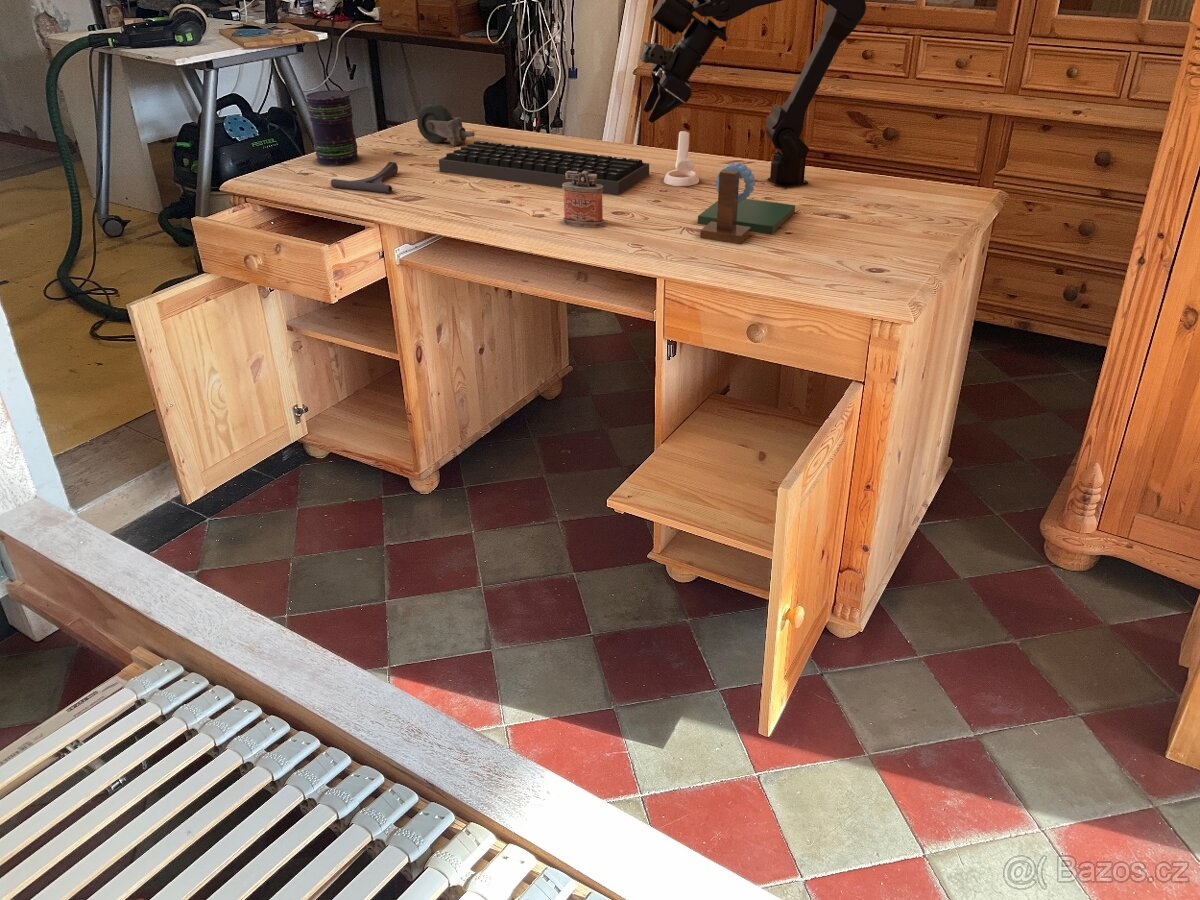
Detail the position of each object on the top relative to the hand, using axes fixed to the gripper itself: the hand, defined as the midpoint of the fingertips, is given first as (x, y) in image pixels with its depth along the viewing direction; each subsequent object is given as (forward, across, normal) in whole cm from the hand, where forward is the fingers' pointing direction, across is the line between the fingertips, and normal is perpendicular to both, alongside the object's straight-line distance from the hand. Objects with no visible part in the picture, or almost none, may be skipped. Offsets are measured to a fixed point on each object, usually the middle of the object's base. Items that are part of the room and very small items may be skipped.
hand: (647, 116), depth 200 cm
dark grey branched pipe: (+45, -11, -40) cm, 61 cm away
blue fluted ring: (0, +29, +16) cm, 33 cm away
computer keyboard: (+25, -13, -10) cm, 30 cm away
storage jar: (+52, -30, -50) cm, 78 cm away
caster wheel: (+38, -43, -29) cm, 64 cm away
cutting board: (+2, +22, +22) cm, 32 cm away
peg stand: (+5, +30, +19) cm, 36 cm away
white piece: (+8, -4, +15) cm, 17 cm away
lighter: (+21, +22, -4) cm, 31 cm away
